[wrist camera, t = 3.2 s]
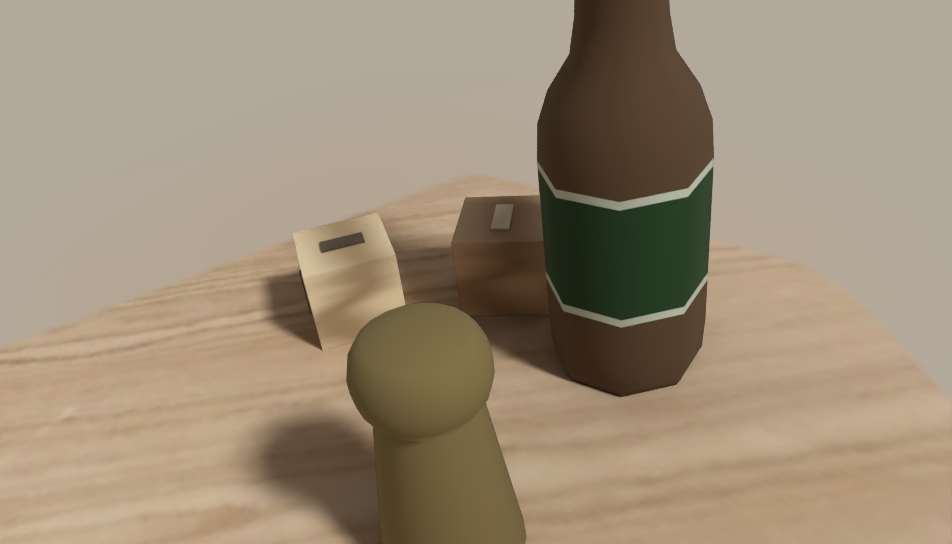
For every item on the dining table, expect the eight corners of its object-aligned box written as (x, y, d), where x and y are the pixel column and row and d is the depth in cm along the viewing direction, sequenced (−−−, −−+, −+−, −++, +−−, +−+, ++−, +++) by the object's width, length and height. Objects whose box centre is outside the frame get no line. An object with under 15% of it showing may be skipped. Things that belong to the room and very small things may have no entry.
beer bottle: (559, 303, 47) (526, -171, 33) (701, 306, 45) (725, -192, 32) (542, 397, 40) (494, -140, 27) (706, 404, 39) (739, -164, 26)
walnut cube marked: (460, 317, 47) (448, 240, 44) (472, 268, 51) (462, 195, 48) (550, 316, 46) (543, 239, 43) (555, 266, 50) (550, 192, 47)
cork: (371, 503, 36) (316, 302, 30) (502, 467, 37) (475, 264, 31) (395, 622, 31) (335, 409, 25) (546, 576, 32) (524, 360, 26)
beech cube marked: (320, 352, 46) (299, 276, 43) (309, 304, 50) (289, 231, 47) (410, 328, 47) (395, 252, 44) (392, 282, 51) (377, 210, 48)
